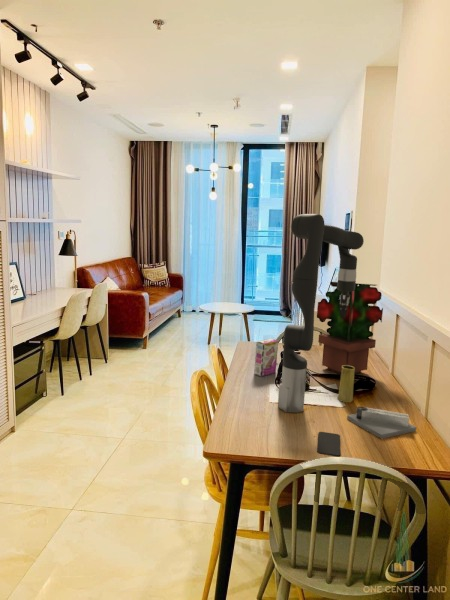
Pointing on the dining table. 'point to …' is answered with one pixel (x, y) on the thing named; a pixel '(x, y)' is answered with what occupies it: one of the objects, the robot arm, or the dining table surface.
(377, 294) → the potted plant
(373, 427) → the charcoal board
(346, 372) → the vase
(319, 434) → the phone
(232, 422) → the dining table surface
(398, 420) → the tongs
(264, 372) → the candy bar box
